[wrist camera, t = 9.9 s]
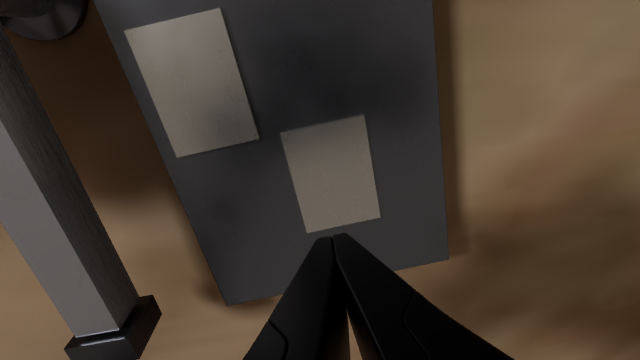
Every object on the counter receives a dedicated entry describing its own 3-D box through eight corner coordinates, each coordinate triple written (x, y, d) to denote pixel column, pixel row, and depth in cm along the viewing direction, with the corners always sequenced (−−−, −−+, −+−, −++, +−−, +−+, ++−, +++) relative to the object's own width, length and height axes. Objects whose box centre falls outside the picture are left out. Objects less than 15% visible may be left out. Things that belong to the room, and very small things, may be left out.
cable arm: (180, 276, 18) (139, 359, 13) (134, 284, 18) (77, 369, 13) (37, -62, 12) (-135, -128, 7) (-33, -49, 12) (-249, -106, 7)
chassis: (434, 237, 19) (450, 261, 17) (233, 280, 19) (225, 308, 17) (405, -106, 12) (425, -134, 10) (105, -32, 13) (70, -45, 11)
